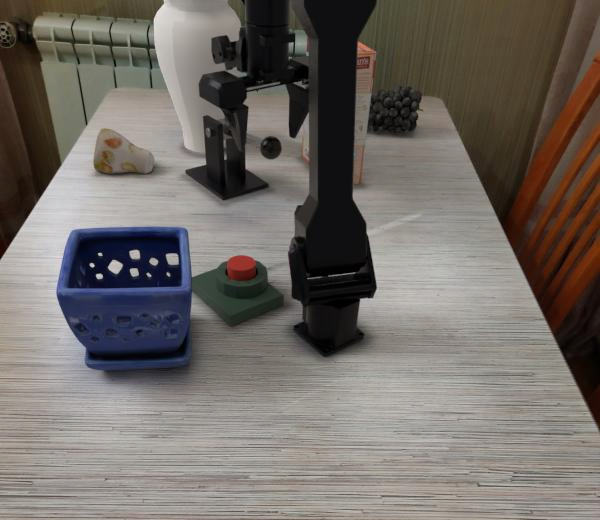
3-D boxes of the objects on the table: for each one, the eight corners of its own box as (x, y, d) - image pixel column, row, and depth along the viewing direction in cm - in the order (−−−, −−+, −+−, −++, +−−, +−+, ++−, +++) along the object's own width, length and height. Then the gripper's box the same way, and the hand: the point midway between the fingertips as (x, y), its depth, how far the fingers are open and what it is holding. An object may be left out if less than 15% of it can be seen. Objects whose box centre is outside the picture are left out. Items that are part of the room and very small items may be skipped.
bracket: (268, 190, 101) (268, 123, 94) (223, 203, 97) (219, 135, 90) (229, 164, 108) (227, 101, 100) (185, 176, 104) (179, 110, 96)
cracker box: (362, 186, 104) (378, 50, 89) (330, 191, 102) (341, 53, 87) (330, 154, 113) (339, 26, 98) (300, 158, 111) (305, 28, 97)
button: (261, 276, 77) (261, 264, 76) (237, 285, 75) (237, 273, 74) (245, 264, 79) (245, 252, 78) (222, 272, 77) (221, 260, 76)
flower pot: (198, 308, 77) (189, 222, 68) (200, 378, 67) (191, 288, 59) (90, 314, 75) (68, 226, 67) (77, 386, 66) (50, 294, 57)
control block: (284, 304, 78) (285, 281, 76) (231, 327, 74) (229, 303, 72) (242, 270, 83) (241, 247, 81) (189, 288, 80) (187, 265, 77)
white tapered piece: (157, 183, 102) (118, 134, 94) (113, 200, 106) (72, 155, 98) (166, 155, 106) (129, 106, 98) (123, 173, 110) (84, 127, 102)
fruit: (348, 82, 115) (428, 85, 114) (348, 84, 122) (422, 87, 122) (345, 132, 119) (422, 135, 118) (345, 131, 126) (417, 134, 126)
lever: (286, 159, 89) (285, 136, 87) (269, 164, 87) (267, 141, 85) (228, 135, 99) (226, 114, 97) (212, 139, 97) (209, 118, 95)
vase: (153, 140, 114) (129, -49, 94) (222, 127, 120) (213, -53, 100) (187, 169, 106) (168, -31, 85) (259, 153, 112) (258, -38, 92)
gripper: (288, 1, 86) (285, 115, 97) (172, 15, 78) (184, 138, 89) (338, 18, 80) (329, 137, 91) (218, 36, 72) (224, 165, 83)
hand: (267, 143), depth 89 cm, fingers open, 9 cm apart
